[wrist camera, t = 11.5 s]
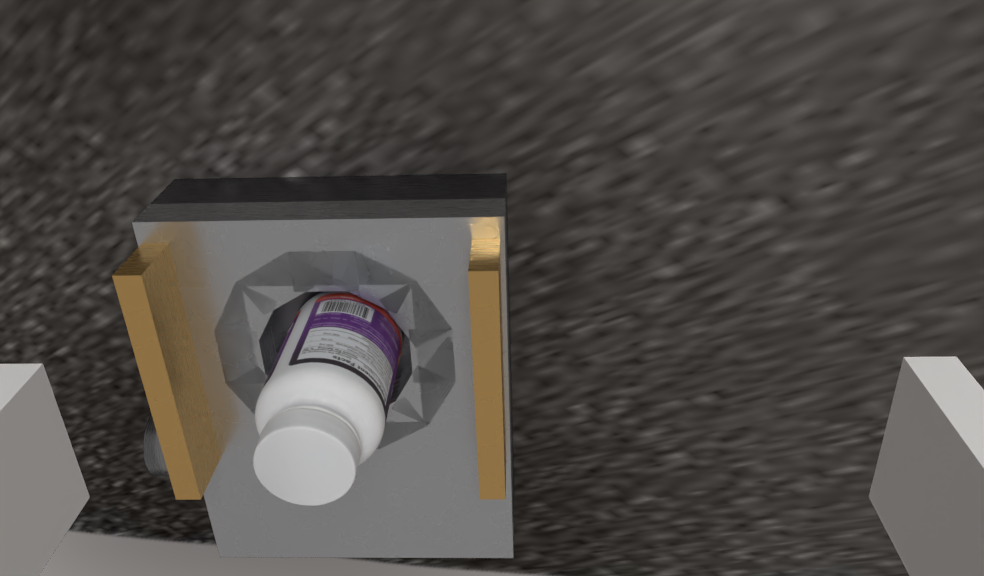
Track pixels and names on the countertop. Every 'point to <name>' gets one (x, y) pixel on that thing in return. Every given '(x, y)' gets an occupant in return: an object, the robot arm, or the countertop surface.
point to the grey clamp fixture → (266, 321)
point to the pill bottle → (326, 398)
